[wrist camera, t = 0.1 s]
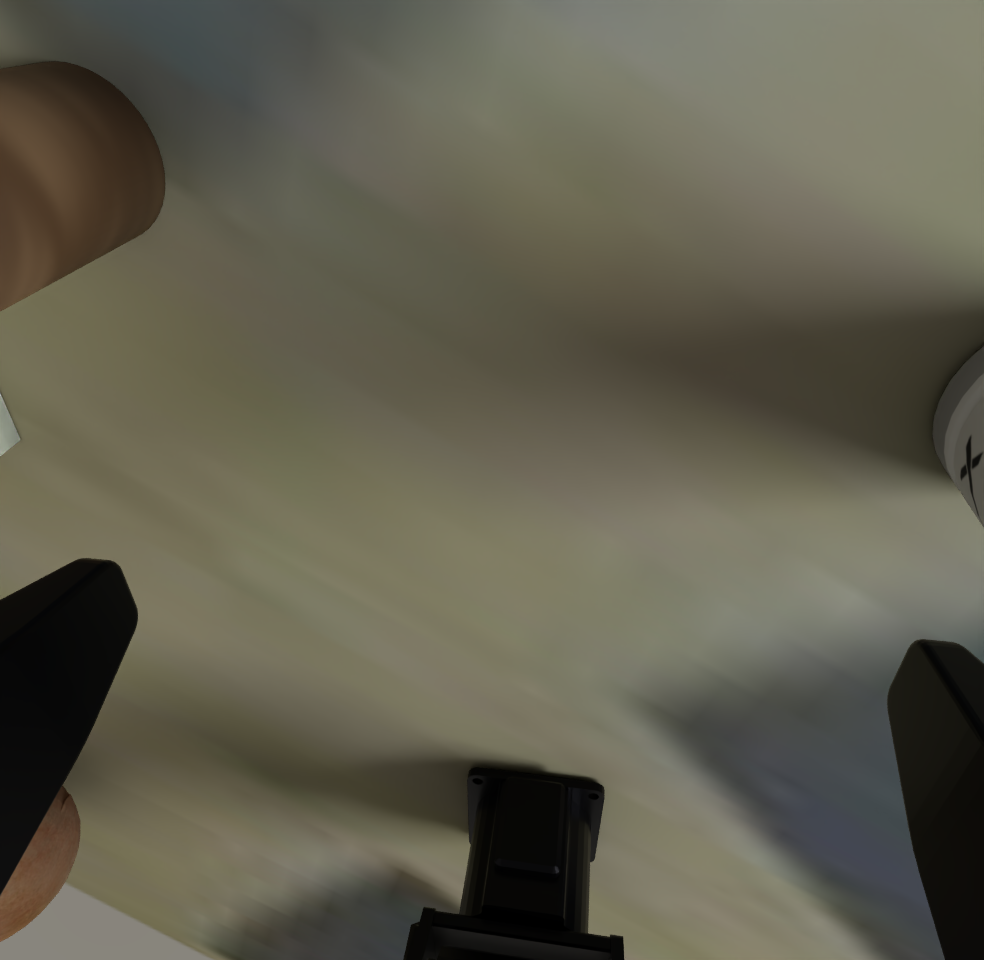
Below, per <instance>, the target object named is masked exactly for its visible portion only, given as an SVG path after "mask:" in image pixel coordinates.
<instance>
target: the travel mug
mask: <svg viewBox="0 0 984 960" xmlns="http://www.w3.org/2000/svg"><path fill="white" fill-rule="evenodd" d="M932 436H933V441H934V446H935V451H936V454H937V456H938V457H939V459H940V461H941V463H942V465H943V467H944V468H945V470H946V471H947V473H948V474H949V476H950V477H951V479H952V480H953V482H954V483H955V485H956V486H957V488H958V489H959V490H960V491H961V493H962V495H963V497H964V499H965V500H966V502H967V503H968V505H969V506H970V508H971V509H972V511H973V512H974V514H975V515H976V517H977V518H978V520H979V521H980V523H981V524H982V526H983V527H984V346H983V347H982V348H981V349H980V350H978V351H977V352H976V353H975V354H974V355H973V356H972V357H971V358H969V359H968V360H967V361H966V362H965V363H964V364H963V366H962V367H961V368H960V369H959V371H958V372H957V373H956V374H955V375H954V377H953V378H952V379H951V380H950V382H949V384H948V386H947V387H946V389H945V391H944V393H943V395H942V396H941V398H940V400H939V403H938V406H937V409H936V413H935V416H934V421H933V435H932Z"/></svg>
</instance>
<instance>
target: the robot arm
mask: <svg viewBox="0 0 984 960" xmlns="http://www.w3.org/2000/svg"><path fill="white" fill-rule="evenodd" d="M137 621H138V611H137V607H136V604H135V601H134V599H133V596H132V594H131V591H130V589H129V587H128V584H127V582H126V579H125V577H124V574H123V572H122V569H121V568H120V566H119V565H118V564H117V563H115V562H113V561H111V560H101V559H91V558H82V559H78V560H75V561H73V562H71V563H69V564H68V565H66V566H64V567H62V568H60V569H58V570H56V571H54V572H52V573H50V574H49V575H47V576H45V577H43V578H41V579H39V580H37V581H35V582H33V583H32V584H30V585H28V586H26V587H24V588H22V589H20V590H18V591H16V592H14V593H13V594H11V595H9V596H7V597H5V598H3V599H1V600H0V895H1V894H2V892H3V890H4V888H5V887H6V885H7V883H8V881H9V879H10V878H11V876H12V874H13V872H14V871H15V869H16V867H17V865H18V863H19V862H20V860H21V858H22V856H23V854H24V853H25V851H26V849H27V847H28V846H29V844H30V842H31V840H32V838H33V837H34V835H35V833H36V831H37V829H38V828H39V826H40V824H41V822H42V821H43V819H44V817H45V815H46V813H47V812H48V810H49V808H50V806H51V805H52V803H53V801H54V799H55V797H56V796H57V794H58V792H59V790H60V788H61V787H62V785H63V783H64V781H65V780H66V778H67V776H68V774H69V772H70V771H71V769H72V767H73V765H74V763H75V762H76V760H77V758H78V756H79V754H80V752H81V750H82V748H83V746H84V745H85V743H86V740H87V738H88V736H89V734H90V732H91V730H92V728H93V726H94V724H95V721H96V719H97V717H98V714H99V712H100V710H101V708H102V705H103V703H104V701H105V698H106V696H107V694H108V691H109V689H110V687H111V685H112V682H113V680H114V678H115V675H116V673H117V671H118V669H119V666H120V664H121V662H122V659H123V657H124V655H125V652H126V650H127V648H128V646H129V643H130V641H131V639H132V636H133V634H134V632H135V629H136V626H137ZM887 708H888V715H889V721H890V726H891V732H892V737H893V743H894V749H895V754H896V760H897V765H898V771H899V777H900V782H901V788H902V793H903V799H904V805H905V810H906V816H907V821H908V827H909V832H910V837H911V841H912V846H913V851H914V855H915V858H916V862H917V866H918V869H919V873H920V877H921V880H922V883H923V887H924V890H925V894H926V897H927V900H928V904H929V907H930V910H931V914H932V917H933V920H934V924H935V927H936V931H937V934H938V937H939V941H940V944H941V947H942V951H943V954H944V958H945V960H984V663H982V662H981V661H980V660H979V659H978V658H977V657H975V656H974V655H973V654H972V653H971V652H970V651H968V650H967V649H966V648H964V647H963V646H961V645H960V644H957V643H954V642H946V641H936V640H926V639H920V640H916V641H915V642H913V643H912V644H911V645H910V647H909V648H908V650H907V652H906V655H905V657H904V659H903V661H902V663H901V665H900V667H899V669H898V671H897V673H896V675H895V677H894V679H893V682H892V684H891V686H890V688H889V692H888V698H887ZM467 785H468V817H469V842H470V844H471V847H470V853H469V859H468V865H467V871H466V877H465V882H464V888H463V894H462V900H461V906H460V912H459V914H453V913H447V912H440V911H436V908H429V907H424V908H423V912H422V915H421V919H420V922H417V923H415V924H412V925H411V927H410V932H409V937H408V941H407V946H406V950H405V955H404V959H403V960H624V944H623V936H617V935H610V937H607V936H601V935H594V934H588V915H589V882H590V862H592V861H594V859H595V854H596V847H597V841H598V835H599V829H600V822H601V816H602V810H603V803H604V787H603V786H602V785H600V784H598V783H594V782H586V781H578V780H570V779H563V778H555V777H547V776H539V775H531V774H524V773H516V772H508V771H500V770H492V769H484V768H472V769H471V770H469V774H468V779H467Z"/></svg>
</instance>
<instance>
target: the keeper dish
mask: <svg viewBox="0 0 984 960" xmlns="http://www.w3.org/2000/svg"><path fill="white" fill-rule="evenodd" d="M19 441H20V437H19V435H18V433H17V430H16V428H15V426H14V423H13V421H12V419H11V417H10V414H9V412H8V410H7V407H6V405H5V403H4V401H3V398H2V396H1V394H0V456H1V455H2V454H4V453H5V452H6V451H7V450H9V449H10V448H11V447H12V446H14V445H15V444H16V443H18V442H19Z"/></svg>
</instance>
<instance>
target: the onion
mask: <svg viewBox="0 0 984 960" xmlns="http://www.w3.org/2000/svg"><path fill="white" fill-rule="evenodd" d="M79 841H80V818H79V814H78V811H77V808H76V805H75V803H74V801H73V799H72V796H71V794H69V793H68V792H67V791H66V789H65V788H64V787H63V785H62V787H61V788H60V790H59V792H58V794H57V796H56V797H55V799H54V801H53V803H52V805H51V806H50V808H49V810H48V812H47V813H46V815H45V817H44V819H43V821H42V822H41V824H40V826H39V828H38V829H37V831H36V833H35V835H34V837H33V838H32V840H31V842H30V844H29V846H28V847H27V849H26V851H25V853H24V854H23V856H22V858H21V860H20V862H19V863H18V865H17V867H16V869H15V871H14V872H13V874H12V876H11V878H10V879H9V881H8V883H7V885H6V887H5V888H4V890H3V892H2V894H1V895H0V942H1V941H3V940H5V939H6V938H8V937H10V936H12V935H13V934H15V933H16V932H17V931H19V930H21V929H22V928H24V927H25V926H26V925H28V924H29V923H30V922H31V921H32V920H33V919H34V918H36V917H37V915H39V914H40V913H41V912H42V911H43V910H44V909H45V908H46V906H47V905H48V904H49V903H50V902H51V901H52V899H53V898H54V897H55V896H56V895H57V894H58V893H59V891H60V889H61V888H62V886H63V885H64V883H65V881H66V880H67V878H68V875H69V873H70V871H71V868H72V866H73V863H74V861H75V858H76V855H77V851H78V848H79Z"/></svg>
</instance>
